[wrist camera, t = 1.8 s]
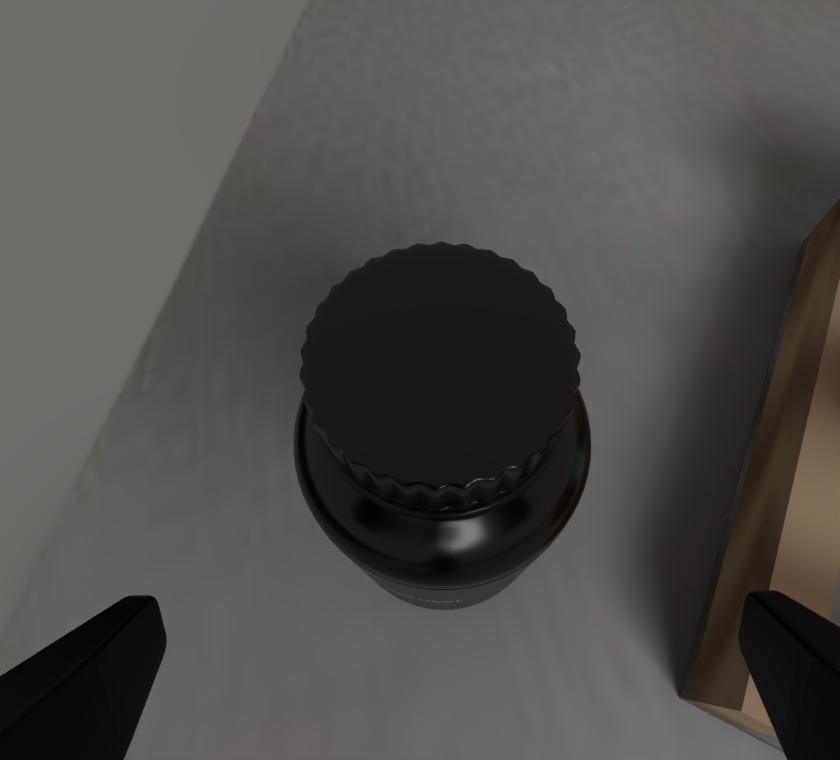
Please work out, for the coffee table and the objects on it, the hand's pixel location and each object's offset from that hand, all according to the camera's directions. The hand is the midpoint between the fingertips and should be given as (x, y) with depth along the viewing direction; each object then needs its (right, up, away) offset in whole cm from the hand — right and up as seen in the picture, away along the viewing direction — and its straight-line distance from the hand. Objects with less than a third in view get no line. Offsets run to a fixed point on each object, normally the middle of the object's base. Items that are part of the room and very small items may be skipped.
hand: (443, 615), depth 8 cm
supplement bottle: (+1, -1, +12) cm, 12 cm away
